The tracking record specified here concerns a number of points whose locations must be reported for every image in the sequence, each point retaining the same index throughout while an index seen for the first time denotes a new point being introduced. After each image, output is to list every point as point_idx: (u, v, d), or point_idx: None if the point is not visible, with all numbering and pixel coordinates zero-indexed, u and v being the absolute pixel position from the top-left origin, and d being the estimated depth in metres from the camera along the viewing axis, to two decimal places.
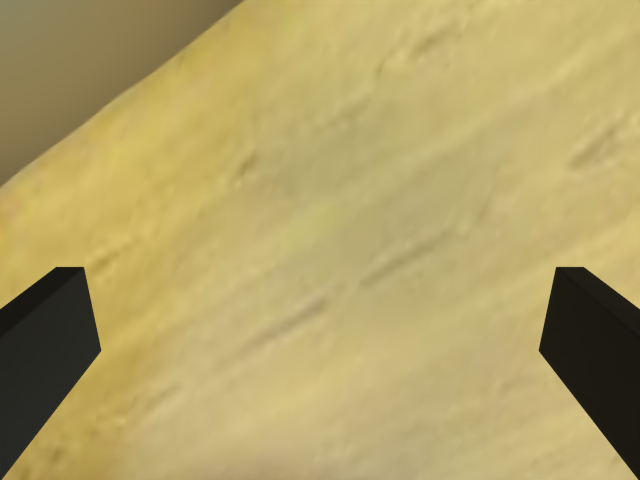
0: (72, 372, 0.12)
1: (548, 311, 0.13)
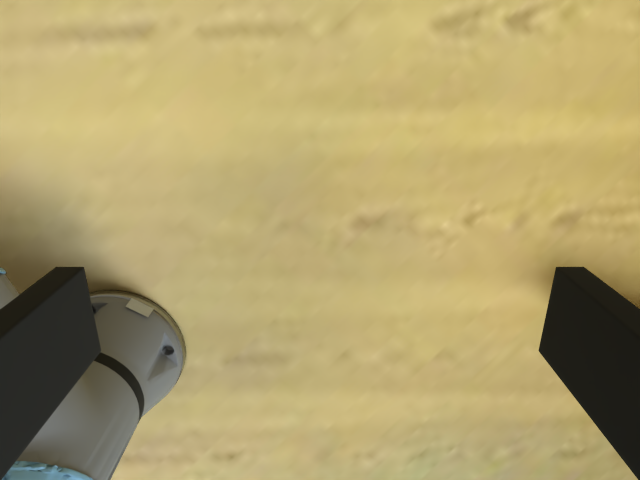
0: (72, 372, 0.12)
1: (548, 310, 0.13)
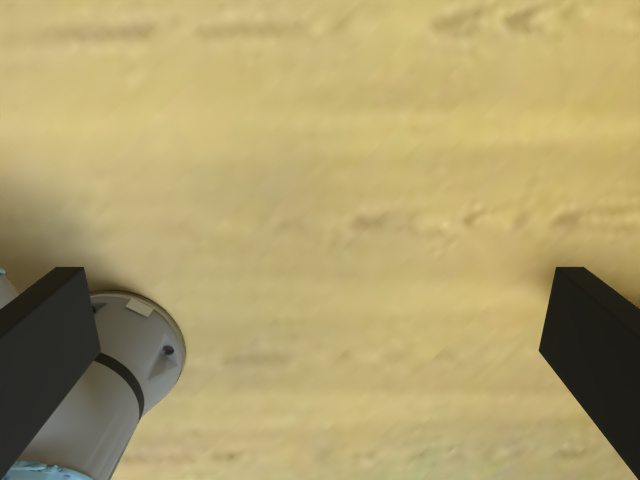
0: (72, 372, 0.12)
1: (548, 310, 0.13)
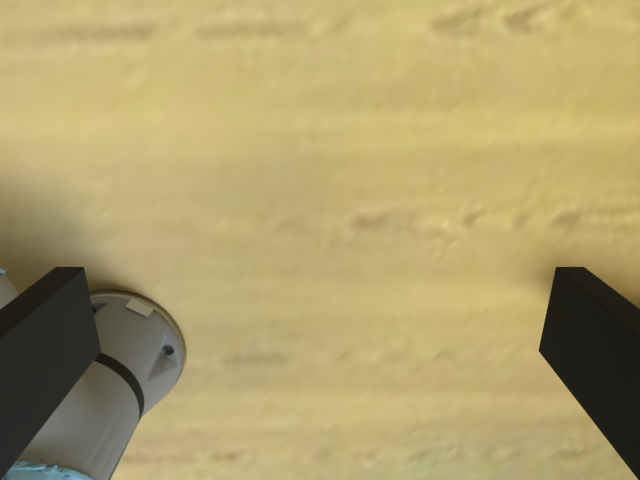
0: (72, 372, 0.12)
1: (548, 310, 0.13)
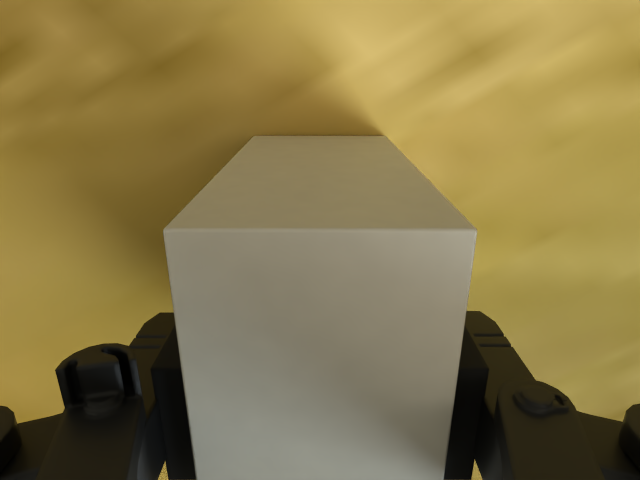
0: None
1: None
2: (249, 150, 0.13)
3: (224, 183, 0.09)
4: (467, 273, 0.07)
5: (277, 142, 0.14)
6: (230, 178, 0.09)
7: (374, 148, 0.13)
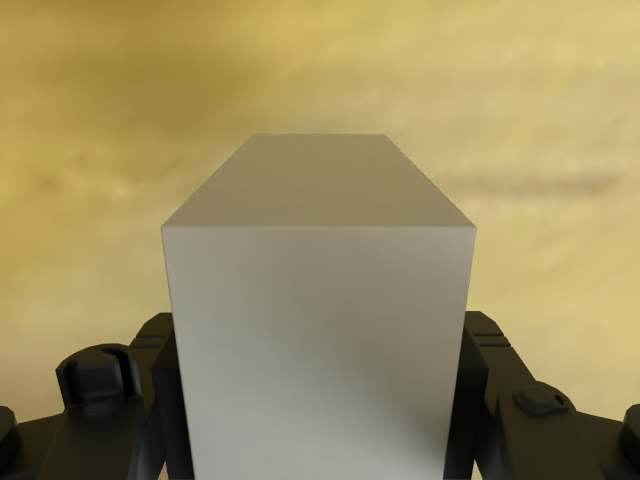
0: None
1: None
2: (248, 148, 0.13)
3: (223, 181, 0.09)
4: (466, 270, 0.07)
5: (276, 141, 0.14)
6: (229, 176, 0.09)
7: (373, 146, 0.13)
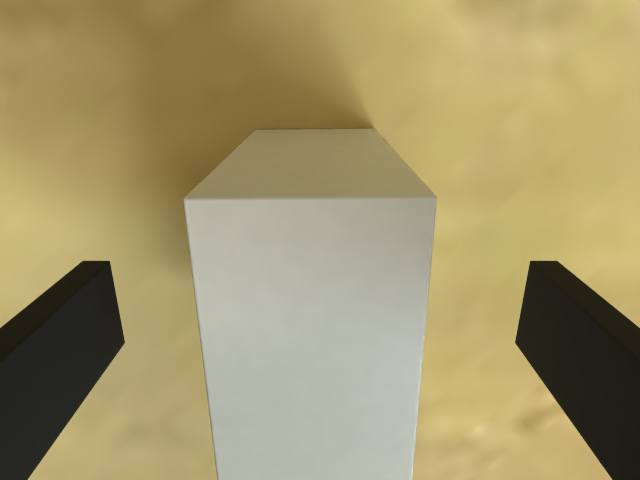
0: (99, 362, 0.12)
1: (524, 304, 0.13)
2: (251, 141, 0.14)
3: (231, 166, 0.11)
4: (430, 233, 0.08)
5: (276, 134, 0.16)
6: (235, 162, 0.11)
7: (363, 138, 0.15)
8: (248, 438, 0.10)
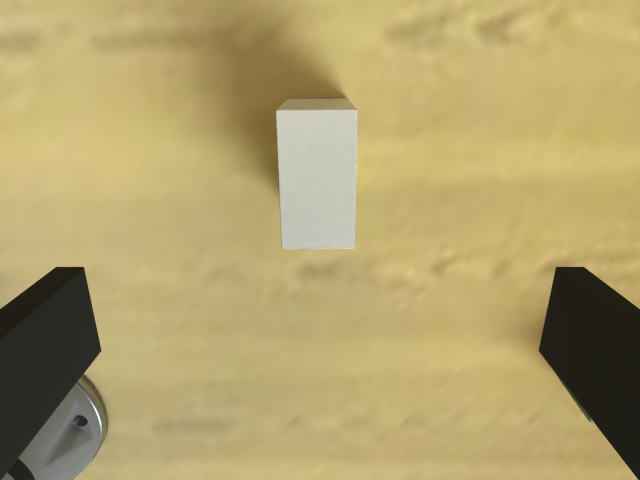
0: (72, 372, 0.12)
1: (548, 311, 0.13)
2: (288, 101, 0.31)
3: (285, 105, 0.28)
4: (356, 122, 0.25)
5: None
6: (287, 105, 0.28)
7: (339, 100, 0.32)
8: (293, 205, 0.27)
